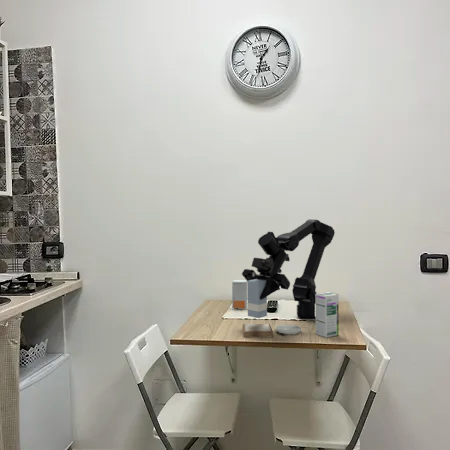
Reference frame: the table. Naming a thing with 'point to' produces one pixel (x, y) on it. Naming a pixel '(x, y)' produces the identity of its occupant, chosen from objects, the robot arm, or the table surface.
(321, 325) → the syrup box
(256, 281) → the carton
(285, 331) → the saucer
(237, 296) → the skincare box
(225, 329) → the table surface
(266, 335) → the tray
